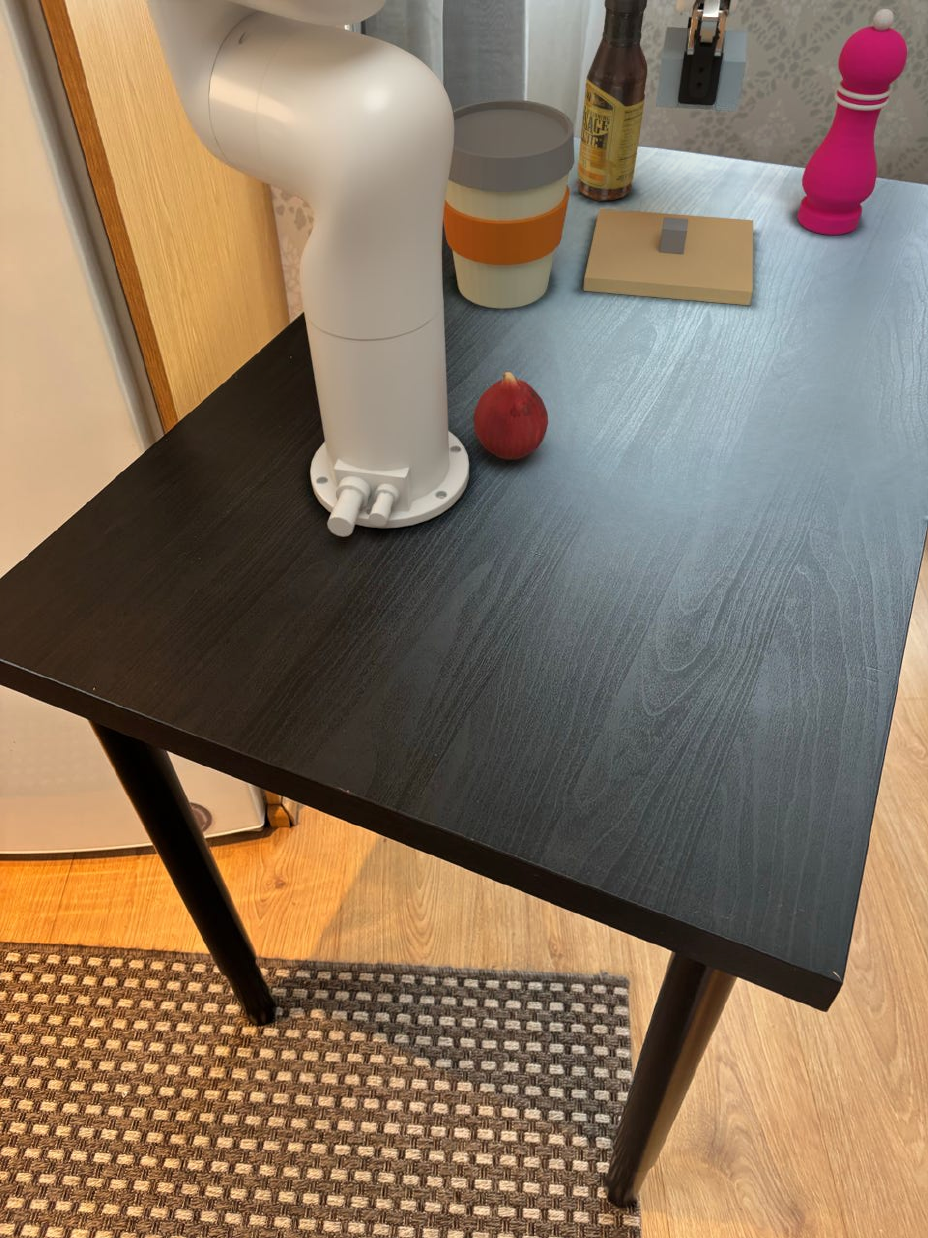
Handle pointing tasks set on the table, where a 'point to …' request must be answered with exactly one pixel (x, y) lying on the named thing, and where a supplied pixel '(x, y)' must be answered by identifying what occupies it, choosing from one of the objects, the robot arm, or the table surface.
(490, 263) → the reusable coffee cup
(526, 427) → the onion
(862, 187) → the pepper mill
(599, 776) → the table surface
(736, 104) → the gray block
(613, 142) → the sauce bottle
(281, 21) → the robot arm
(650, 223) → the base pad
